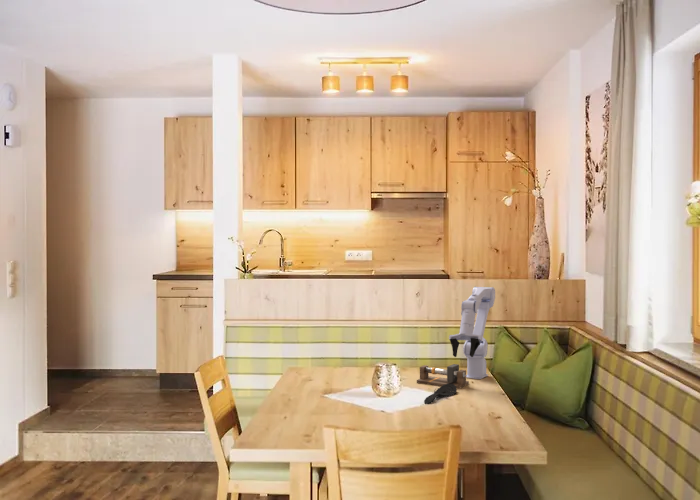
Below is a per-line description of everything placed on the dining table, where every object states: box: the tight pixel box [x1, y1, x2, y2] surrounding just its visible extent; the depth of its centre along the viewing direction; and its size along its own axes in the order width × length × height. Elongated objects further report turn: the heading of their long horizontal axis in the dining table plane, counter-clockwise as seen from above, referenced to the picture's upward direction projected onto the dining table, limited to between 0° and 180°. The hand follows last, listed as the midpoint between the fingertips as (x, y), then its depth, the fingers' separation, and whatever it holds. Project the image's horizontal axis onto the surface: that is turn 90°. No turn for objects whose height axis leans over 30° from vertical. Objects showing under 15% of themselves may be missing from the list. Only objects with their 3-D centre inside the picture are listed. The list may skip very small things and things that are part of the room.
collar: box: [446, 363, 460, 383], centre depth 289 cm, size 7×2×7 cm, turn 146°
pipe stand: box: [416, 364, 470, 390], centre depth 292 cm, size 10×20×6 cm, turn 56°
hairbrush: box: [423, 383, 457, 405], centre depth 269 cm, size 8×4×25 cm
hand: (462, 356), depth 284 cm, fingers open, 7 cm apart
